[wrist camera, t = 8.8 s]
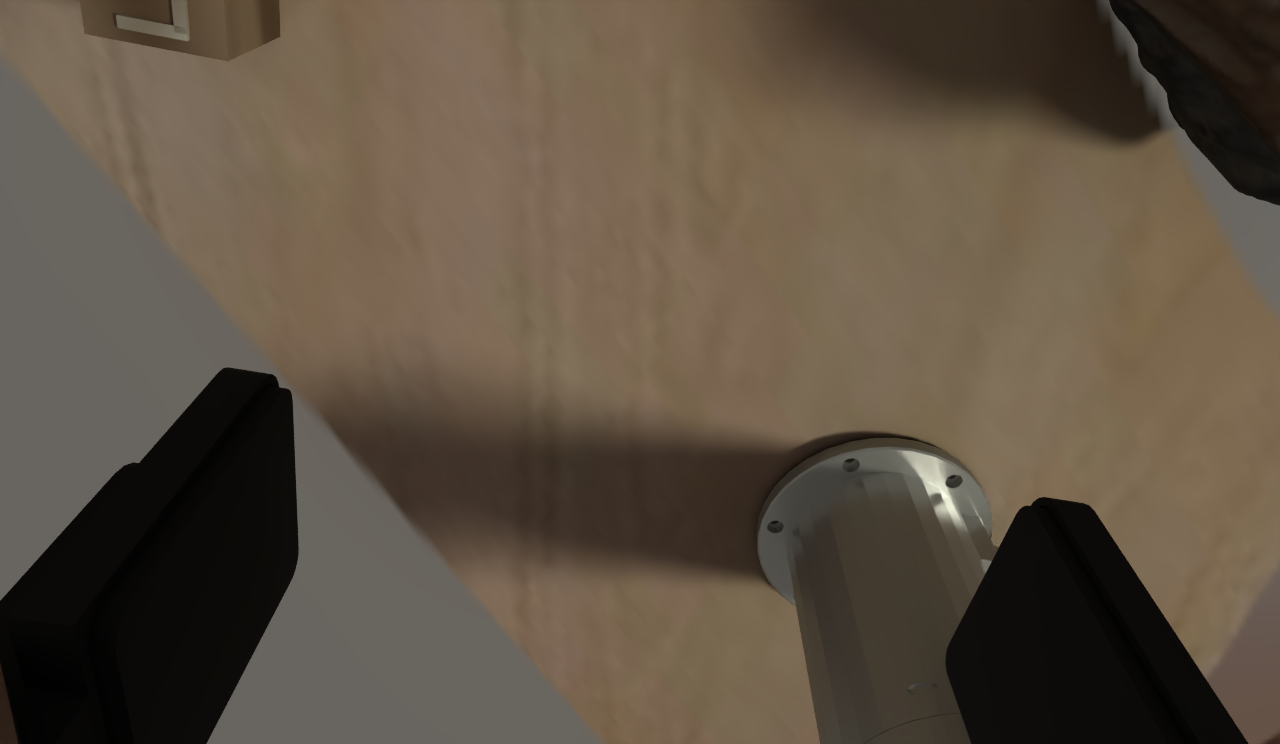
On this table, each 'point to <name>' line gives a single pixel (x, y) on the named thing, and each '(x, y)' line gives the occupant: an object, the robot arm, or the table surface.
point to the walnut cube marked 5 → (186, 24)
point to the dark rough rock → (1218, 80)
